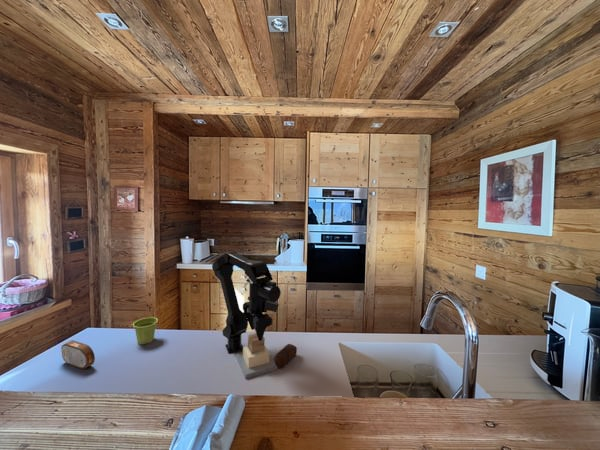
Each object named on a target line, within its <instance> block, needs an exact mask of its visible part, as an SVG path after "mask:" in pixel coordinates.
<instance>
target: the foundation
mask: <svg viewBox="0 0 600 450" xmlns="http://www.w3.org/2000/svg"><path fill="white" fill-rule="evenodd" d="M235 358H236V361H237V363H238V365H239V368H240V369H241V372H242V374H243V376H244V379H245V380H246V379H249V378H252V377H256V376H260V375H263V374H266V373H269V372H273V371H277V370H278V367H277V365H276V363H275V359H273V357H272V356H271V355H270V351H269V350H268V349H267V347H266V345H265V344H264V351H261V352H257V353H253V354H251V352H250V350H249V348H248V345H244V346H243V350H242V352H237V353H236V354H235Z"/></svg>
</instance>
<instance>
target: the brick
mask: <svg viewBox="0 0 600 450" xmlns="http://www.w3.org/2000/svg"><path fill="white" fill-rule="evenodd" d="M297 351H298V347H297V346H295V345H294V344H292V343H291V344H290V343H287V344H286V345H285V346H284V347H283V348H282V349H280V350H279V351H277V353H276V354H275V356H274V362H275V363H276V365H277V368H279V369H284V368H286V366H287V365H289V364H290V362H292V360H293V359H294V358H295V357H296V356H297Z"/></svg>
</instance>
